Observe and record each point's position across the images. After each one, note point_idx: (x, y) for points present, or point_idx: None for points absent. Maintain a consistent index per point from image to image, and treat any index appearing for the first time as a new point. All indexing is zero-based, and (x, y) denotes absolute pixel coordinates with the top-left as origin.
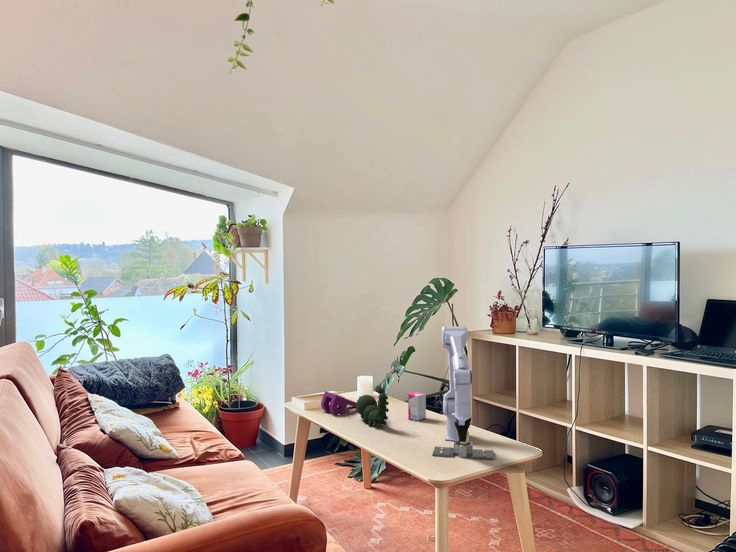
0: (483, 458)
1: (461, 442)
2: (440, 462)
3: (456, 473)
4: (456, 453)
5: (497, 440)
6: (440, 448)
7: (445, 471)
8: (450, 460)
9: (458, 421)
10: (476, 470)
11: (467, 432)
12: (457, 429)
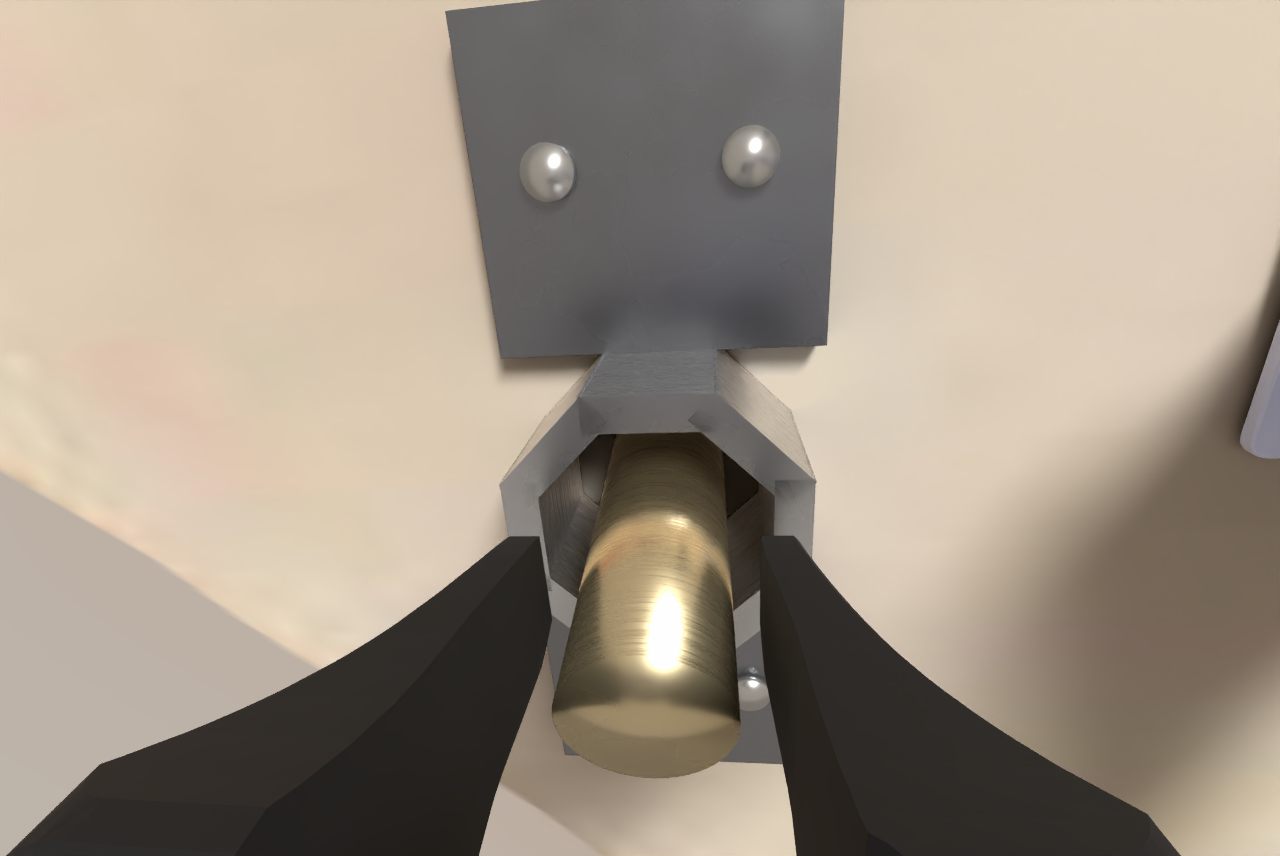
0: (557, 668)
1: (595, 534)
2: (265, 209)
3: (60, 442)
4: (565, 397)
5: (1263, 787)
6: (747, 106)
7: (35, 322)
8: (392, 330)
9: (841, 809)
10: (243, 608)
11: (652, 754)
12: (290, 700)
